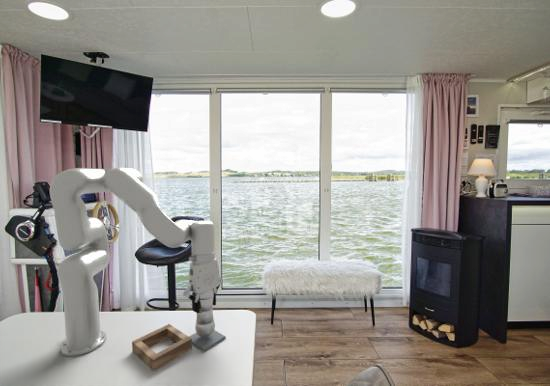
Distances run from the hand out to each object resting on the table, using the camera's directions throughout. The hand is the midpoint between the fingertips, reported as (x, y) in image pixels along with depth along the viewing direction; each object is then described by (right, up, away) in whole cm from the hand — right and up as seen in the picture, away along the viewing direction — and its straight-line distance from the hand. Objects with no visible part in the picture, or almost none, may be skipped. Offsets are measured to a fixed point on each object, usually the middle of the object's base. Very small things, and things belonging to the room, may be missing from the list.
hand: (204, 307), depth 94 cm
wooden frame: (-13, -12, -5) cm, 18 cm away
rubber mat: (0, -12, +1) cm, 12 cm away
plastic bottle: (0, -10, +1) cm, 10 cm away
